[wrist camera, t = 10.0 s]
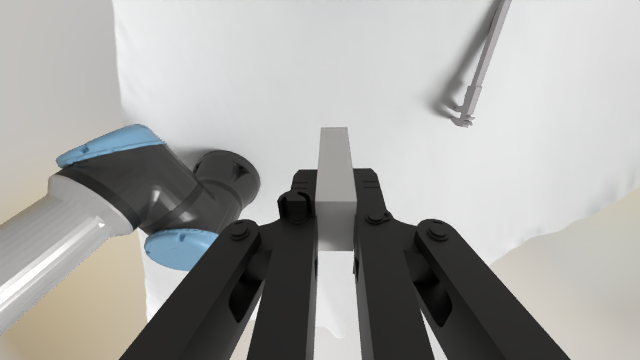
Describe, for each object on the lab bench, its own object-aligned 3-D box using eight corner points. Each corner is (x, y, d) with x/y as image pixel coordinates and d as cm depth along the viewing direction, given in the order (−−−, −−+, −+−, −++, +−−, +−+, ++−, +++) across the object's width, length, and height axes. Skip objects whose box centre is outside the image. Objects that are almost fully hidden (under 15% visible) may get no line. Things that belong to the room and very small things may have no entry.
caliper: (454, 119, 49) (469, 132, 43) (449, 118, 49) (463, 132, 43) (511, -10, 37) (539, -13, 32) (504, -11, 37) (531, -14, 32)
